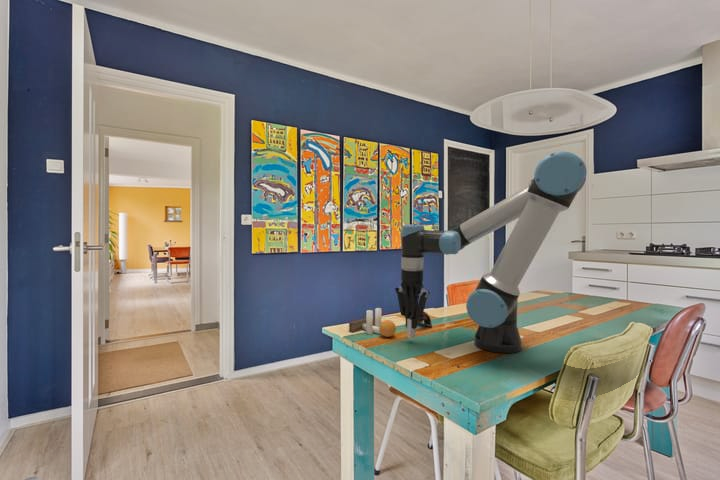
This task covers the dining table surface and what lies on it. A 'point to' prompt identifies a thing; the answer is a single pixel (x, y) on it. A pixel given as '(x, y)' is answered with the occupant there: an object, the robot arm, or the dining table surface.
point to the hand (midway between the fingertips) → (411, 336)
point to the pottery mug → (424, 319)
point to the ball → (387, 328)
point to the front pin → (375, 329)
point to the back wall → (358, 325)
